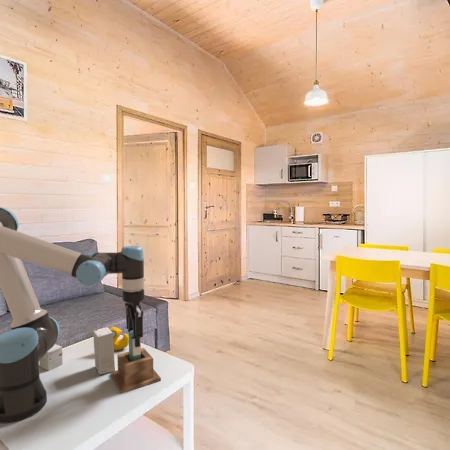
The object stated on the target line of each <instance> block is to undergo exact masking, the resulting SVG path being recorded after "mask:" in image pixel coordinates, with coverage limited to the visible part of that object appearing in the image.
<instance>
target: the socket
mask: <svg viewBox="0 0 450 450" xmlns="http://www.w3.org/2000/svg"><path fill="white" fill-rule="evenodd" d="M116 355H117V370H115V371H112V372H110V375H111V377H112V379H113V381H114V382H115V384H116V386H117V387H118V389H119V391H120V393H122V394H123V393H126V392H130V391H133V390H136V389H138V388H141V387H145V386H149V385H151V384H154V383H157V382H160V381H162V377H160V375H159V374H158V373H157V371H156V370H155V369H154V358H153V356H152V355H151V354H150V353H149V352H148V351H147V350H146V348H144V347H141V359H139V360H135V361H131V362H129V351H126V352H122V353H118V354H116Z"/></svg>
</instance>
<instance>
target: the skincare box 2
mask: <svg viewBox="0 0 450 450" xmlns="http://www.w3.org/2000/svg"><path fill="white" fill-rule="evenodd" d="M92 334H93V336H92V337H93V351H94V366H95V368H96V370H97V372H98V373H99V375H100V376H101V375H103V374H104V375H105V374H107V373H111V372H113V371H116V364H115V351H114V347H113V333H112V332H111V330H110V328H109V327H108V326H105V327H102V328H99V329H93V330H92Z"/></svg>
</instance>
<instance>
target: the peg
mask: <svg viewBox="0 0 450 450" xmlns="http://www.w3.org/2000/svg"><path fill="white" fill-rule="evenodd" d="M128 336H129V344H128V352H129V362H131V361H135V360H139V359H141V354H140V355H136V356H133V342H132V338H131V337H133V330H131V331H129V332H128Z"/></svg>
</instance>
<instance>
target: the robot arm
mask: <svg viewBox="0 0 450 450" xmlns="http://www.w3.org/2000/svg"><path fill="white" fill-rule="evenodd" d="M18 229H19V220H18V218H17V216H16V215H15V213H13V212H12V211H11V210H9V209H8V208H5V207H0V289H1V293H2V294H3V297H4V299H5V303H6V305H7V307H8V310H9V312H10V314H11V316H12V322H11V324H10V326H9V327H10V328H11V330H10V331H6V332H4V333H2V334H0V424H8V423H13V422H18V421H21V420H24V419H27V418H29V417H31V416H33V415H34V414H36V413H38V412H39V411H41V410H42V409H43V408H44V407H45V405H46V403H47V399H48V397H47V391H46V389H45V386H44V384H43V383H42V380H41V378H40V377H41V376H40V367H39V360H40V359H41V358H42V357H43V356H44V355H45V354H46V353H47V352H48V350H50V349H51V348H52V347H53V346H54V344H56V343H57V341H58V339H59V337H60V332H61V329H60V325H59V322H58V321H57V320H56V318H53V317H51V316H50V315H49V313H48V310H46V309H43V308H42V307H41V305H40V303H39V300H38V297H37V296H36V293H35V290H34V288H33V286H32V284H31V280H30V279H29V275H28V273H27V270H26V268H25V265H24V262H23V261H25V262H28V263H31V264H33V265H35V266H36V265H37V266H39V267H42V268H45V269H48V270H50V271H51V270H52V271H55V272H57V273H61V274H64V275H67V276H70V277H73V278H75V279H77V281H78V282H79V283H80V284H82V285H84V286H88V287H89V286H90V287H91V286H95V285H97V284H99V283H100V282H101V281H103V280H104V278H105V277H106V276H107V275H112V274H121V287H122V288H121V289H122V300H123V302H125V304H124V305H125V322H126V323H125V324H126V326H125V327H126V329H127V333H129V331H131V330H133V337H131V338H132V342H133V356H136V355H140V354H141V348H142V347H141V346H142V344H141V342H142V341H141V338H143V336H144V329H143V328H144V321H143V319H144V318H143V317H144V310H142V306H141V303H140V302H141V301H144V300H145V289H144V287H145V281H146V279H145V275H144V273H145V271H144V270H145V269H144V268H145V265H144V263H145V257H144V249H143V247H142V246H140V245H126V246H122V247H121V251H118V252H98V251H97V252H89V253H87V254H83V253H81V252H79V251H76V250H73V249H69V248H66V247H63V246H61V245H58V244H56V243H55V244H54V243H53V242H49V241H47V240H43V239H41V238H37V237H36V236H32V235H30V234H26V233H24V232H20V231H18Z"/></svg>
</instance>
